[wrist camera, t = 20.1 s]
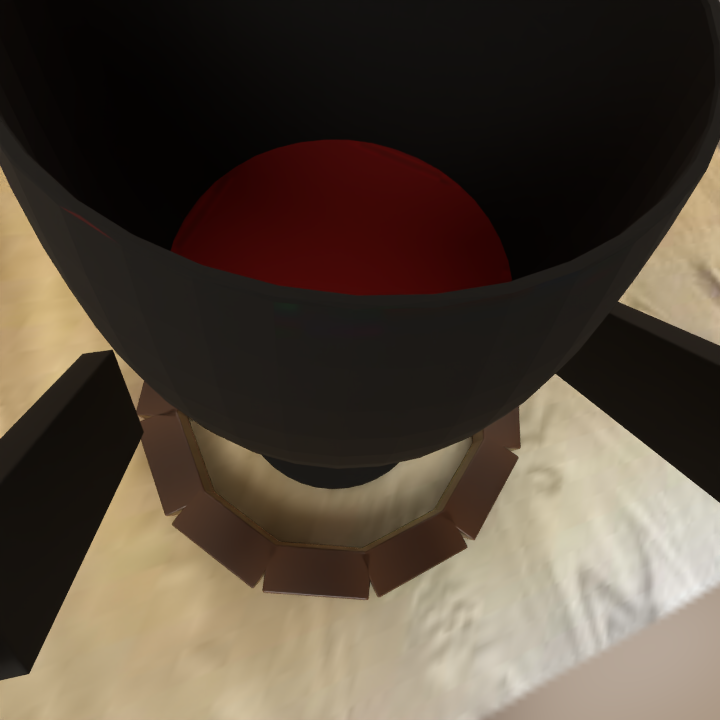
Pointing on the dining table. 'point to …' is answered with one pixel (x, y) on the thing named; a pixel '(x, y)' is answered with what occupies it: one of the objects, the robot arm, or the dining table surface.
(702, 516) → the dining table surface
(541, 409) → the dining table surface
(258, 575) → the walnut ring
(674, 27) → the wine glass
